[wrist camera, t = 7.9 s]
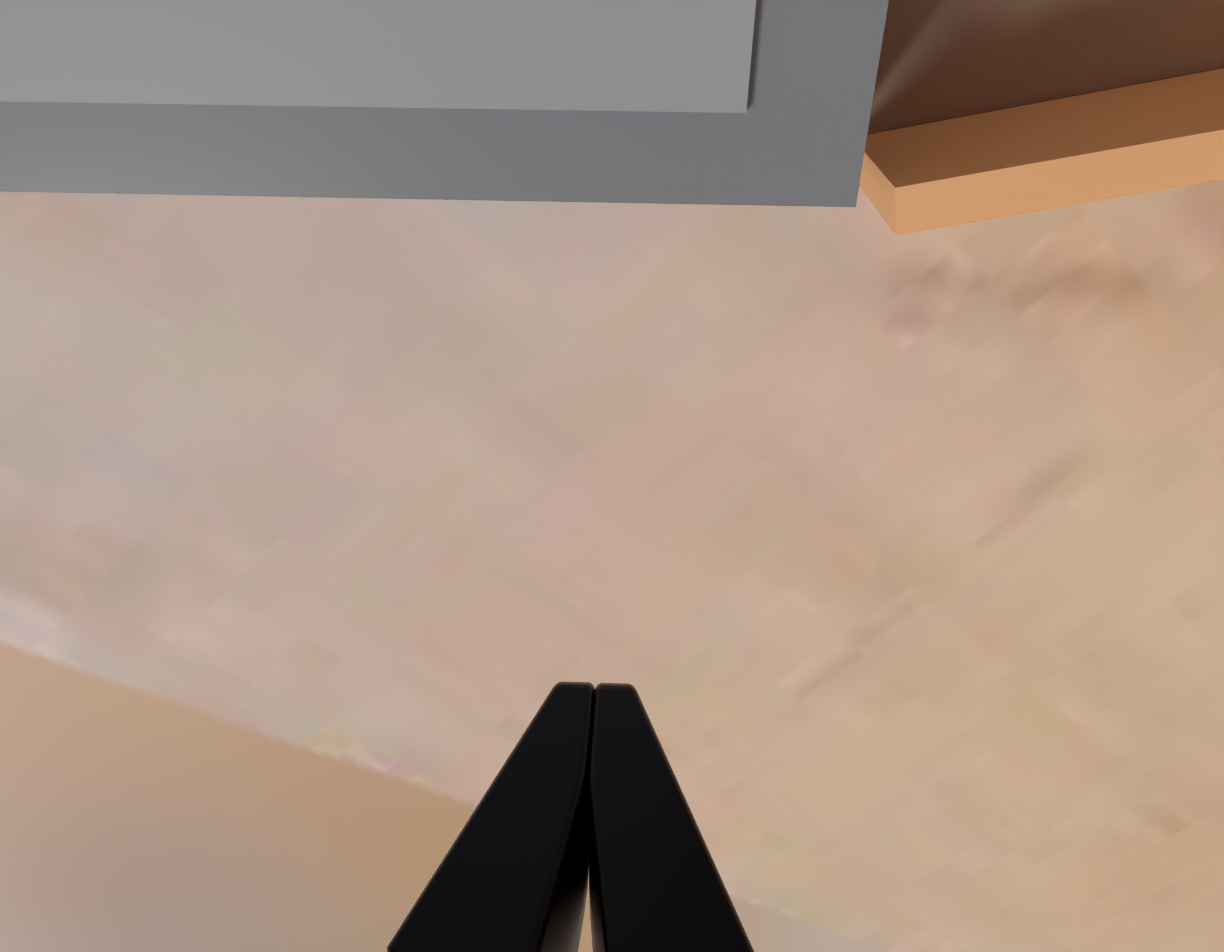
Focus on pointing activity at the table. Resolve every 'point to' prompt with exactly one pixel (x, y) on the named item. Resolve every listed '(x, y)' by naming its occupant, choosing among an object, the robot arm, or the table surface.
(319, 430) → the table surface
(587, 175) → the case
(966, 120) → the case door
